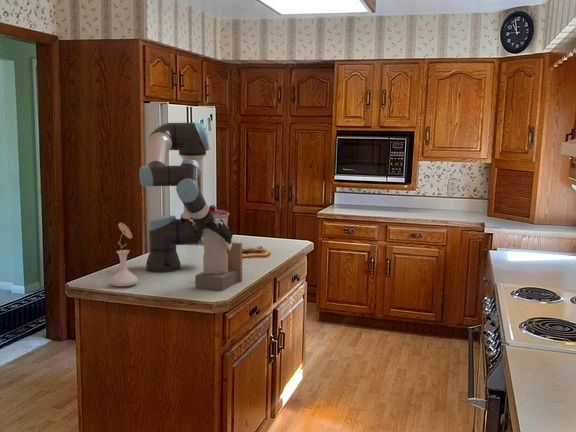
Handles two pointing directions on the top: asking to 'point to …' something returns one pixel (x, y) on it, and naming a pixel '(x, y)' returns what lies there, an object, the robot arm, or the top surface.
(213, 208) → the canister
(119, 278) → the flower in vase
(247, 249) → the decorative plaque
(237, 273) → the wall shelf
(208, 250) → the pale grey bottle shape
